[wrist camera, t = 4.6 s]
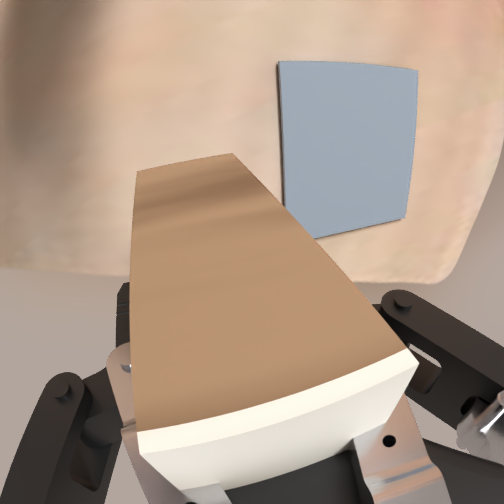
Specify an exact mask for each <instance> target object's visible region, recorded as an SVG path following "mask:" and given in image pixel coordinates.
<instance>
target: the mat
mask: <svg viewBox="0 0 504 504" xmlns="http://www.w3.org/2000/svg"><path fill="white" fill-rule="evenodd" d="M278 72H279V89H280V108H281V128H282V151H283V179H284V207H285V208H286V209H287V210H288V211H289V212H290V214H291V215H292V216H293V217H294V218H295V219H296V220H297V221H298V222H299V223H300V224H301V225H302V226H303V228H304V229H305V230H306V231H307V232H308V233H309V234H310V235H311V236H312V237H313V239H315V238H319V237H323V236H328V235H332V234H337V233H341V232H345V231H350V230H354V229H358V228H363V227H367V226H372V225H376V224H380V223H385V222H389V221H393V220H398V219H402V218H405V214H406V208H407V202H408V195H409V188H410V180H411V173H412V164H413V155H414V144H415V132H416V117H417V97H418V70H412V69H405V68H398V67H390V66H381V65H371V64H360V63H346V62H324V61H278Z"/></svg>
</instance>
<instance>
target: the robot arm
mask: <svg viewBox="0 0 504 504" xmlns="http://www.w3.org/2000/svg"><path fill="white" fill-rule="evenodd" d="M371 305H372V306H373V307H374V308H375V309H376V311H377V312H378V313H379V314H380V315H381V317H382V318H383V319H384V320H385V321H386V323H387V324H388V325H389V326H390V327H391V329H392V330H393V331H394V332H395V333H396V335H397V336H398V337H399V338H400V340H401V341H402V342H403V343H404V345H405V346H406V347H407V348H408V350H409V351H410V352H411V353H412V355H413V356H414V357H415V358H416V360H417V361H418V362H419V365H418V367H417V369H416V371H415V373H414V374H413V376H412V378H411V380H410V382H409V384H408V386H407V387H406V389H405V391H404V393H403V395H402V396H401V398H400V400H399V402H398V403H397V405H396V407H395V408H394V410H393V412H392V413H391V415H390V417H389V418H388V420H387V422H385V423H383V424H381V425H379V426H377V427H375V428H373V429H371V430H369V431H367V432H365V433H363V434H361V435H358V436H356V437H354V438H353V439H352V441H351V443H350V445H349V446H348V449H347V450H345V451H343V452H341V453H338V454H336V455H333V456H331V457H329V458H326V459H324V460H321V461H319V462H316V463H313V464H311V465H308V466H305V467H303V468H300V469H297V470H294V471H291V472H288V473H285V474H282V475H279V476H276V477H273V478H269V479H266V480H263V481H259V482H256V483H252V484H248V485H245V486H241V487H237V488H233V489H228V490H223V488H222V487H221V485H220V484H219V483H215V484H211V485H206V486H201V487H196V488H190V489H184V490H179V489H177V488H176V487H175V486H174V485H173V484H172V483H170V482H169V481H168V480H167V479H166V478H165V477H164V476H162V475H161V474H160V473H159V472H158V471H157V470H156V469H155V468H154V467H153V466H152V465H151V464H149V463H148V462H147V461H146V460H145V459H144V458H143V457H142V456H141V455H140V453H139V445H138V437H137V429H136V420H135V410H134V399H133V387H132V372H131V352H130V282H127V283H124V284H123V285H122V287H121V289H120V291H119V292H118V294H117V316H116V317H117V318H116V349H114V350H113V351H112V352H111V354H110V355H109V357H108V359H107V363H106V367H105V368H104V369H103V370H101V371H99V372H98V373H96V374H93V375H92V376H89V377H87V378H85V379H83V380H82V379H81V378H80V377H79V376H78V375H76V374H74V373H70V372H64V373H61V374H58V375H56V376H54V377H53V378H52V379H51V380H50V381H49V382H48V383H47V384H46V386H45V388H44V390H43V392H42V394H41V396H40V398H39V400H38V403H37V405H36V407H35V409H34V411H33V414H32V416H31V418H30V420H29V423H28V425H27V427H26V430H25V432H24V434H23V437H22V439H21V442H20V444H19V447H18V449H17V452H16V454H15V457H14V460H13V462H12V465H11V467H10V470H9V473H8V476H7V479H6V482H5V485H4V488H3V491H2V494H1V497H0V504H104V503H105V499H106V495H107V491H108V487H109V483H110V480H111V476H112V473H113V469H114V465H115V462H116V458H117V455H118V451H119V448H120V445H121V441H122V438H123V441H124V444H125V447H126V450H127V452H128V455H129V458H130V460H131V463H132V465H133V468H134V470H135V473H136V475H137V478H138V480H139V483H140V485H141V487H142V489H143V492H144V494H145V496H146V498H147V501H148V502H149V504H504V347H502V346H501V345H499V344H498V343H496V342H494V341H493V340H491V339H489V338H488V337H486V336H485V335H483V334H481V333H479V332H478V331H476V330H475V329H473V328H471V327H469V326H468V325H466V324H465V323H463V322H461V321H460V320H458V319H456V318H455V317H453V316H451V315H449V314H448V313H446V312H444V311H442V310H441V309H439V308H437V307H436V306H434V305H432V304H431V303H429V302H427V301H425V300H424V299H422V298H420V297H418V296H417V295H415V294H413V293H411V292H408V291H405V290H392V291H389V292H387V293H386V294H385V295H384V296H383V297H382V301H381V304H371ZM410 344H412V345H414V346H415V347H417V348H419V349H420V350H422V351H423V352H425V353H426V354H428V355H429V356H431V357H433V358H434V359H436V360H437V361H438V362H439V363H440V365H441V367H442V368H440V367H438V366H436V365H434V364H433V363H431V362H430V361H428V360H427V359H425V358H424V357H422V356H421V355H419V354H418V353H416V352H414V351H413V350H411V349H410V348H409V346H410ZM406 396H408V397H409V398H410V399H412V400H413V401H415V402H416V403H418V404H419V405H421V406H422V407H423V408H425V409H426V410H428V411H429V412H431V413H432V414H433V415H435V416H436V417H438V418H439V419H441V420H442V421H444V422H445V423H447V424H448V425H450V426H451V427H452V428H454V429H455V430H457V435H458V438H457V445H458V447H459V448H461V449H466V448H467V450H468V451H469V453H470V454H467V453H464V452H461V451H458V450H455V449H452V448H449V447H446V446H443V445H440V444H438V443H434V442H432V441H429V440H426V439H424V438H422V437H421V434H420V431H419V429H418V426H417V423H416V421H415V418H414V416H413V413H412V410H411V408H410V406H409V403H408V401H407V398H406Z"/></svg>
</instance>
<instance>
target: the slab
mask: <svg viewBox="0 0 504 504" xmlns="http://www.w3.org/2000/svg"><path fill="white" fill-rule="evenodd" d="M130 352H131V372H132V387H133V399H134V410H135V420H136V429H137V437H138V445H139V453H140V455H141V456H142V457H143V458H144V459H145V460H146V461H147V462H148V463H149V464H151V465H152V466H153V467H154V468H155V469H156V470H157V471H158V472H159V473H160V474H161V475H162V476H164V477H165V478H166V479H167V480H168V481H169V482H170V483H172V484H173V485H174V486H175V487H176V488H177V489H179V490H184V489H190V488H196V487H201V486H206V485H211V484H215V483H219V484H220V485H221V487H222V488H223V490H228V489H233V488H237V487H241V486H245V485H248V484H252V483H256V482H259V481H263V480H266V479H269V478H273V477H276V476H279V475H282V474H285V473H288V472H291V471H294V470H297V469H300V468H303V467H305V466H308V465H311V464H313V463H316V462H319V461H321V460H324V459H326V458H329V457H331V456H333V455H336V454H338V453H341V452H343V451H345V450H347V449H348V446H349V445H350V443H351V441H352V439H353V438H354V437H356V436H358V435H361V434H363V433H365V432H367V431H369V430H371V429H373V428H375V427H377V426H379V425H381V424H383V423H385V422H387V420H388V418H389V417H390V415H391V413H392V412H393V410H394V408H395V407H396V405H397V403H398V402H399V400H400V398H401V396H402V395H403V393H404V391H405V389H406V387H407V386H408V384H409V382H410V380H411V378H412V376H413V374H414V373H415V371H416V369H417V367H418V365H419V362H418V361H417V360H416V358H415V357H414V356H413V355H412V353H411V352H410V351H409V350H408V348H407V347H406V346H405V345H404V343H403V342H402V341H401V340H400V338H399V337H398V336H397V335H396V333H395V332H394V331H393V330H392V329H391V327H390V326H389V325H388V324H387V323H386V321H385V320H384V319H383V318H382V317H381V315H380V314H379V313H378V312H377V311H376V309H375V308H374V307H373V306H372V305H371V304H370V302H369V301H368V300H367V299H366V298H365V296H364V295H363V294H362V293H361V292H360V291H359V289H358V288H357V287H356V286H355V285H354V284H353V282H352V281H351V280H350V279H349V278H348V277H347V276H346V274H345V273H344V272H343V271H342V270H341V269H340V268H339V266H338V265H337V264H336V263H335V262H334V261H333V260H332V259H331V257H330V256H329V255H328V254H327V253H326V252H325V251H324V250H323V248H322V247H321V246H320V245H319V244H318V243H317V242H316V241H315V240H314V239H313V237H312V236H311V235H310V234H309V233H308V232H307V231H306V230H305V229H304V228H303V226H302V225H301V224H300V223H299V222H298V221H297V220H296V219H295V218H294V217H293V216H292V215H291V214H290V212H289V211H288V210H287V209H286V208H285V207H284V206H283V205H282V204H281V203H280V202H279V201H278V200H277V199H276V198H275V197H274V195H273V194H272V193H271V192H270V191H269V190H268V189H267V188H266V187H265V186H264V185H263V184H262V183H261V182H260V181H259V180H258V179H257V178H256V177H255V176H254V175H253V174H252V173H251V172H250V171H249V170H248V169H247V167H246V166H245V165H244V164H243V163H242V162H241V161H240V160H239V159H238V158H237V157H236V156H235V155H234V154H233V153H230V154H224V155H217V156H212V157H206V158H200V159H195V160H189V161H184V162H179V163H174V164H169V165H164V166H159V167H155V168H150V169H146V170H141V171H137V177H136V186H135V196H134V208H133V221H132V236H131V256H130Z"/></svg>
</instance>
